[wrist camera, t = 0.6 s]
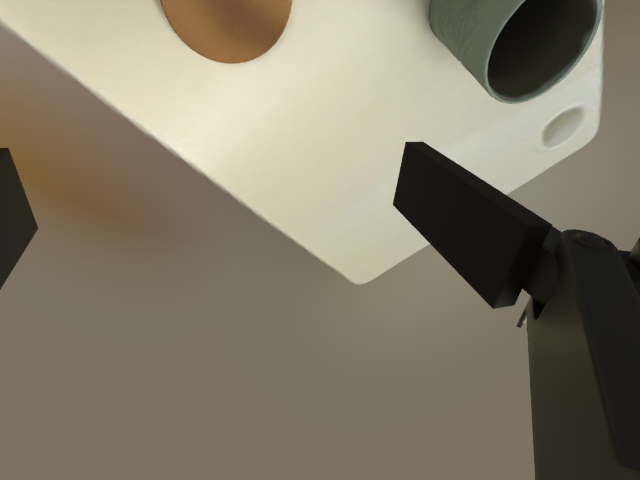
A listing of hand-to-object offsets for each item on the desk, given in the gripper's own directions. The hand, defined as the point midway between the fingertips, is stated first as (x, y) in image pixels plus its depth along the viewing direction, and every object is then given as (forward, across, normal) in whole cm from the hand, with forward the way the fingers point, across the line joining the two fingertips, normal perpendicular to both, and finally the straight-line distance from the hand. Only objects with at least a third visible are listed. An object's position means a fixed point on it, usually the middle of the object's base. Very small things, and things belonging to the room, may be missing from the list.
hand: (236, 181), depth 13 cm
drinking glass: (+27, +26, +7) cm, 38 cm away
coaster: (+26, +2, +6) cm, 27 cm away
